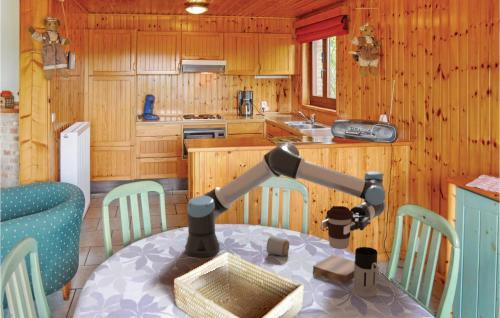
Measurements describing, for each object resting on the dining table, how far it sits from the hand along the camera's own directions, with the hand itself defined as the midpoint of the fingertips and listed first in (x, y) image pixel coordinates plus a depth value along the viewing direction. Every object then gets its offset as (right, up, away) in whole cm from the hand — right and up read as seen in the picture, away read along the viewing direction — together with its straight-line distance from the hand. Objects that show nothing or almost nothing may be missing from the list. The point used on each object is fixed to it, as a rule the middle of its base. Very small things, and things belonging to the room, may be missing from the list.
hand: (333, 227), depth 164 cm
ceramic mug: (-19, -15, +26) cm, 36 cm away
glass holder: (+10, -22, -11) cm, 26 cm away
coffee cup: (+3, -8, +5) cm, 10 cm away
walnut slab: (+3, -18, +7) cm, 20 cm away
